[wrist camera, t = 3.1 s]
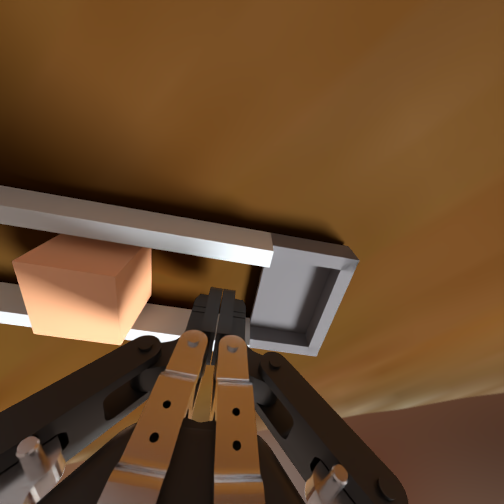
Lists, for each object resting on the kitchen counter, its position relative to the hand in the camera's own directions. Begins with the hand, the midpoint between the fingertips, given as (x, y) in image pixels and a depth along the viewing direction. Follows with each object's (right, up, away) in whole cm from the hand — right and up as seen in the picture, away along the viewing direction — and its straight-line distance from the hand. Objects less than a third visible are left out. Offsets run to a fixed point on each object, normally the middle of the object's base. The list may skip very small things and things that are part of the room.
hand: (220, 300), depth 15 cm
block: (-7, +2, +1) cm, 8 cm away
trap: (+5, 0, +2) cm, 5 cm away
